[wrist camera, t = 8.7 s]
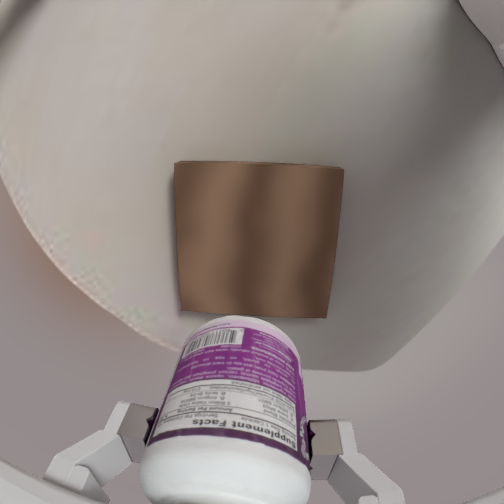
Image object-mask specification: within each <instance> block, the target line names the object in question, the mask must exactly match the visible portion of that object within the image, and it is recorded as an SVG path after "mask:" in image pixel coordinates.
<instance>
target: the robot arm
mask: <svg viewBox="0 0 504 504" xmlns="http://www.w3.org/2000/svg"><path fill="white" fill-rule="evenodd" d="M459 2H460V4H461V6H462V7H463V9H464V11H465V12H466V14H467V15H468V16H469V18H470V19H471V21H472V22H473V23H474V24H475V26H476V27H477V28H478V29H479V30H480V31H481V32H482V34H483V35H484V36H485V37H486V38H487V39H488V40H489V42H490V43H491V45H492V46H493V48H494V50H495V52H496V55H497V57H498V59H499V60H500V62H501V64H502V66H503V67H504V0H459ZM158 412H159V409H158V408H154V407H149V406H144V405H139V404H135V403H130V402H126V401H121V400H120V401H119V402H118V403H117V404H116V406H115V408H114V410H113V412H112V414H111V416H110V418H109V420H108V422H107V424H106V426H105V428H104V430H103V431H102V430H99V431H97V432H96V433H94V434H92V435H90V436H89V437H87V438H85V439H83V440H82V441H80V442H78V443H76V444H75V445H73V446H71V447H69V448H68V449H66V450H64V451H62V452H60V453H59V454H57V455H55V457H54V459H53V461H52V463H51V464H50V466H49V468H48V470H47V472H46V473H45V475H44V477H43V479H41V478H39V477H37V476H35V475H33V474H30V473H29V472H27V471H25V470H23V469H21V468H19V467H17V466H15V465H13V464H11V463H10V462H8V461H6V460H4V459H2V458H1V457H0V504H109V501H110V499H109V497H108V496H107V494H106V493H105V492H104V490H103V489H102V487H103V486H104V485H105V484H106V483H108V482H109V481H111V480H112V479H113V478H114V477H116V476H117V475H118V474H119V473H121V472H122V471H123V470H124V469H125V468H127V467H128V466H129V465H130V464H131V463H132V462H136V463H140V461H141V458H142V455H143V452H144V450H145V447H146V444H147V441H148V439H149V436H150V433H151V431H152V428H153V425H154V423H155V420H156V418H157V415H158ZM307 433H308V443H309V460H310V472H311V480H327V481H328V482H329V484H330V485H331V486H332V487H333V489H334V490H335V491H336V492H337V494H338V495H339V496H340V497H341V498H342V500H343V501H344V502H345V503H346V504H405V500H404V496H403V491H402V489H401V488H400V487H398V486H397V485H396V484H395V483H394V482H393V481H391V480H390V479H389V478H388V477H387V476H386V475H385V474H384V473H383V472H381V471H380V470H379V469H378V468H377V467H376V466H375V465H374V464H373V463H372V462H370V461H369V460H368V459H367V458H366V457H365V456H364V455H363V454H358V451H357V447H356V441H355V437H354V432H353V427H352V422H351V420H350V419H342V420H341V419H339V420H335V419H333V420H309V421H308V423H307ZM460 504H504V487H502V488H499V489H497V490H495V491H492V492H490V493H487V494H485V495H482V496H480V497H477V498H474V499H472V500H469V501H466V502H463V503H460Z"/></svg>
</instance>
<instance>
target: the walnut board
mask: <svg viewBox="0 0 504 504" xmlns="http://www.w3.org/2000/svg"><path fill="white" fill-rule="evenodd" d="M174 177H175V214H176V237H177V256H178V272H179V286H180V299H181V311H193V312H206V313H220V314H235V315H252V316H272V317H297V318H326V316H327V310H328V304H329V297H330V291H331V284H332V277H333V269H334V262H335V254H336V246H337V238H338V229H339V220H340V210H341V200H342V189H343V177H344V170H343V169H342V168H340V167H331V166H318V165H304V164H287V163H267V162H237V161H180V162H177V163H174Z"/></svg>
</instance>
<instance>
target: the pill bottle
mask: <svg viewBox="0 0 504 504" xmlns="http://www.w3.org/2000/svg"><path fill="white" fill-rule="evenodd" d="M305 411H306V410H305V400H304V389H303V378H302V369H301V363H300V357H299V354H298V352H297V349H296V347H295V345H294V344H293V342H292V340H291V339H290V338H289V337H288V336H287V335H286V334H285V333H284V332H283V331H281V330H280V329H279V328H277V327H276V326H274V325H272V324H271V323H268V322H267V321H264V320H261V319H258V318H254V317H244V316H238V315H232V316H225V317H220V318H216V319H213V320H210V321H208V322H207V323H205V324H203V325H201V326H200V327H198V328H197V329H195V330H194V331H193V332H192V333H191V334H190V335H189V337H188V338H187V340H186V341H185V343H184V346H183V348H182V351H181V354H180V357H179V359H178V362H177V365H176V367H175V370H174V372H173V375H172V378H171V380H170V383H169V386H168V389H167V391H166V394H165V396H164V399H163V402H162V404H161V407H160V410H159V412H158V415H157V418H156V420H155V423H154V425H153V428H152V431H151V433H150V436H149V439H148V441H147V444H146V447H145V450H144V452H143V455H142V458H141V461H140V464H139V471H138V473H139V481H140V485H141V487H142V489H143V492H144V493H145V495H146V496H147V498H148V499H149V500H150V502H151V503H152V504H306V503H307V501H308V498H309V495H310V489H311V472H310V460H309V443H308V433H307V423H306V412H305Z"/></svg>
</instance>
